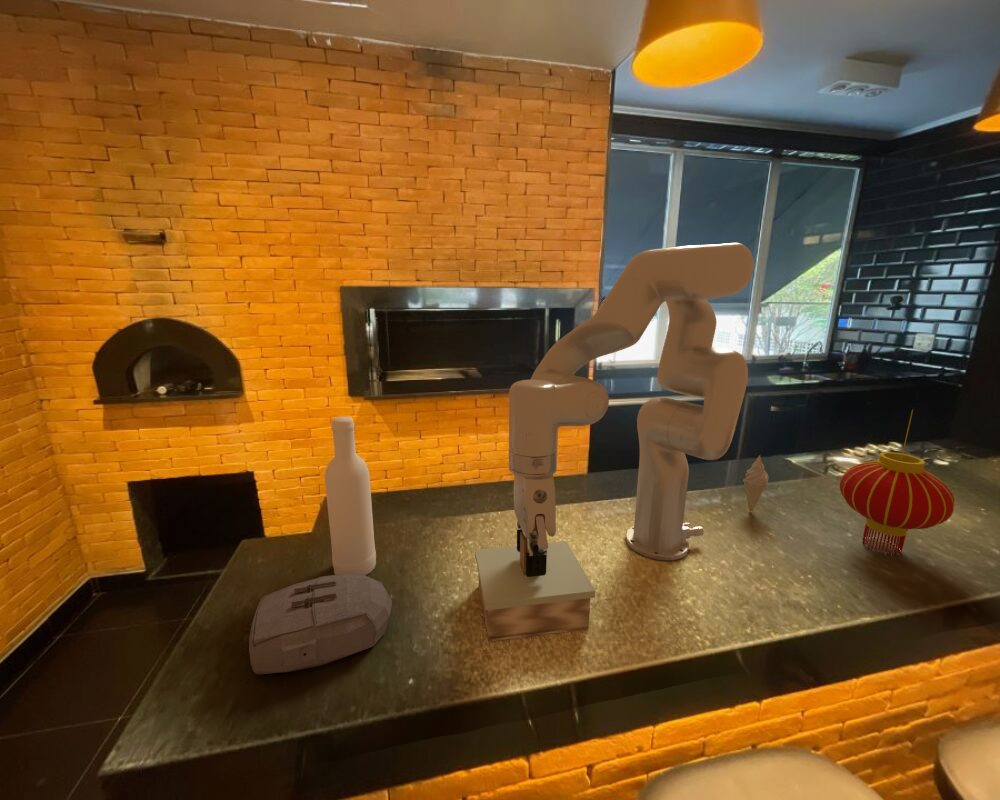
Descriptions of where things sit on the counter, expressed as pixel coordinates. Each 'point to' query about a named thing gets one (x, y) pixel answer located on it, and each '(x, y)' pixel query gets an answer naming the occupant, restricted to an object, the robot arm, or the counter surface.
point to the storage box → (536, 619)
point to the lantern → (896, 496)
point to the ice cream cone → (755, 483)
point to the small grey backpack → (317, 622)
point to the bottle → (349, 504)
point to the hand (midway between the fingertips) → (530, 561)
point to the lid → (513, 588)
